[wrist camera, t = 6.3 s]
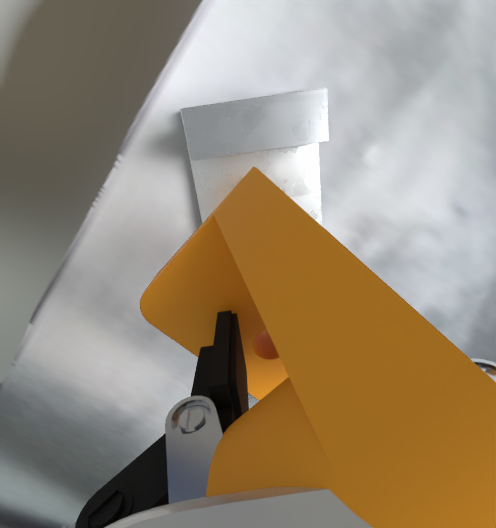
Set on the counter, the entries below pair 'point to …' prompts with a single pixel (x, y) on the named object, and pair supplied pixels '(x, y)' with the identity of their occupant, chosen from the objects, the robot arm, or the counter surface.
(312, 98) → the vise
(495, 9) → the counter surface
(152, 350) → the counter surface
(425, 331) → the bracket
